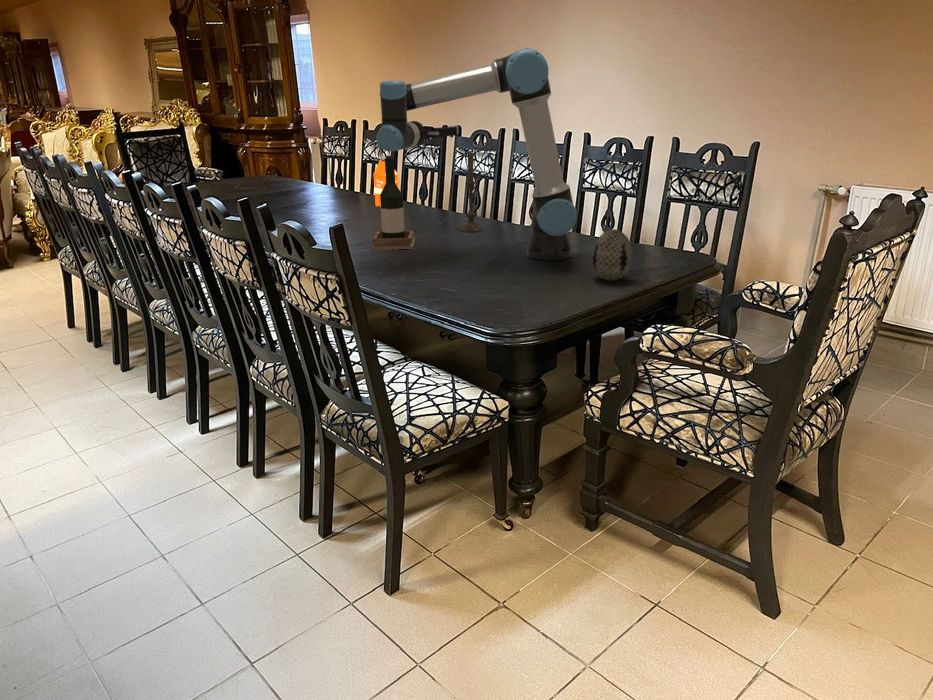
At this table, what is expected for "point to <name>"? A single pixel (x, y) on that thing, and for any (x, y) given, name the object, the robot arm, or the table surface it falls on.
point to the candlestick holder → (471, 199)
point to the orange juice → (381, 181)
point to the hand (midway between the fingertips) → (438, 128)
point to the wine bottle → (391, 204)
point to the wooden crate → (393, 242)
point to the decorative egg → (612, 255)
